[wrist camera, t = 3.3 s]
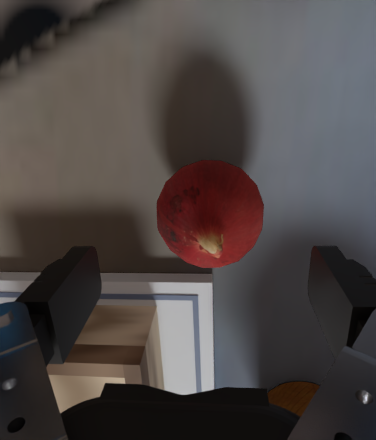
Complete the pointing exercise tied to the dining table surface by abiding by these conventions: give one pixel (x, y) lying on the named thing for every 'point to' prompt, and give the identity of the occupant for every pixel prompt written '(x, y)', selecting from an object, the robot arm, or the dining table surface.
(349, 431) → the robot arm
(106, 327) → the square wooden tray
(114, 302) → the board
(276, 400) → the disposable coffee cup
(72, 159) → the dining table surface
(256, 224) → the red round fruit
